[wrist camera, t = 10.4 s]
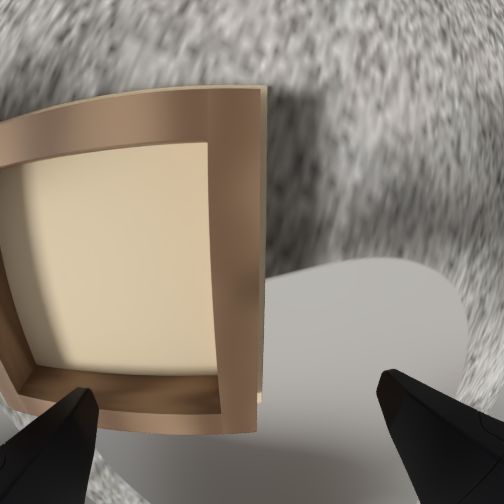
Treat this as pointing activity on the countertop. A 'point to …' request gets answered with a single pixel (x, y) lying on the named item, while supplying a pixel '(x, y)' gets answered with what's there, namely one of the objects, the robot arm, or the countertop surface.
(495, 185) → the countertop surface
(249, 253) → the walnut frame
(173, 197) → the cork mat
